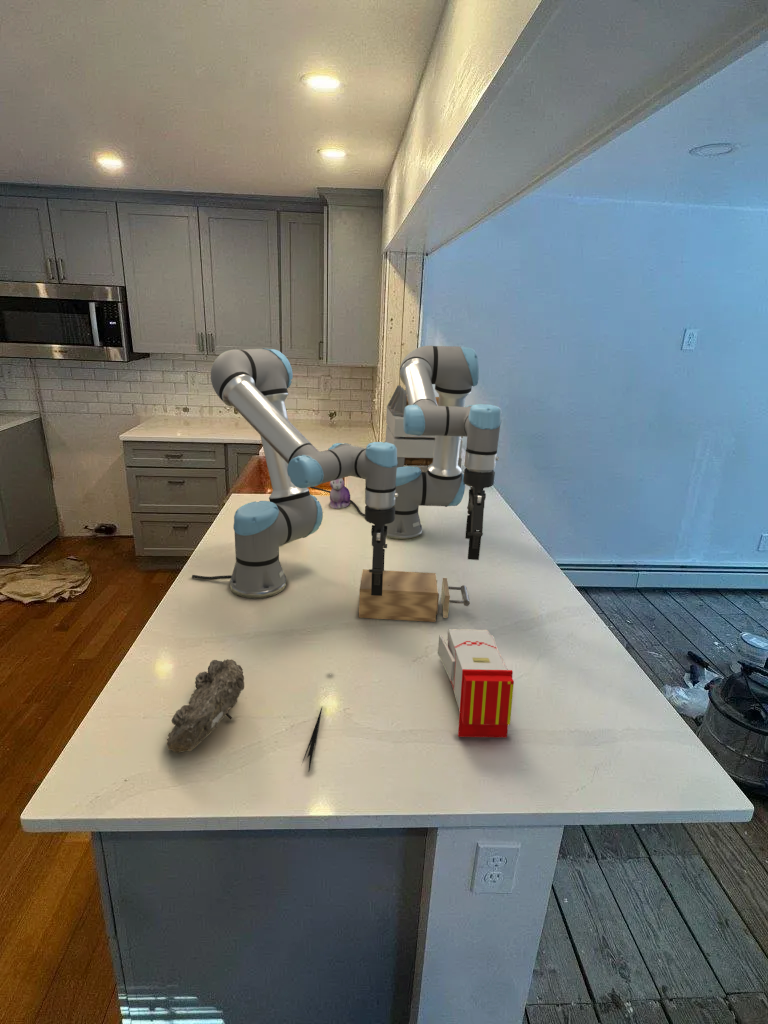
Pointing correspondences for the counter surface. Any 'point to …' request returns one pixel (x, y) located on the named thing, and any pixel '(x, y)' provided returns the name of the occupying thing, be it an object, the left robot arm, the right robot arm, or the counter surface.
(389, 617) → the wooden drawer box
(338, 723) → the counter surface
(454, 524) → the counter surface
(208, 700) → the fossil
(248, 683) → the counter surface
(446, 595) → the drawer
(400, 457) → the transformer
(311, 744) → the feather
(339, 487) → the figurine
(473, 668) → the toy
